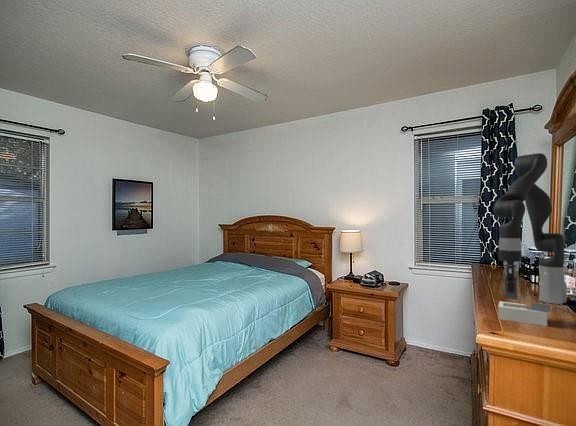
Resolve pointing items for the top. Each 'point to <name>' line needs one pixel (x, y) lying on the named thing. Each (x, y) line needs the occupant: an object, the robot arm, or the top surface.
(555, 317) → the top surface
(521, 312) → the socket block
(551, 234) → the robot arm
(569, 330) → the top surface
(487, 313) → the top surface
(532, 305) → the shutter
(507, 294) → the plug
